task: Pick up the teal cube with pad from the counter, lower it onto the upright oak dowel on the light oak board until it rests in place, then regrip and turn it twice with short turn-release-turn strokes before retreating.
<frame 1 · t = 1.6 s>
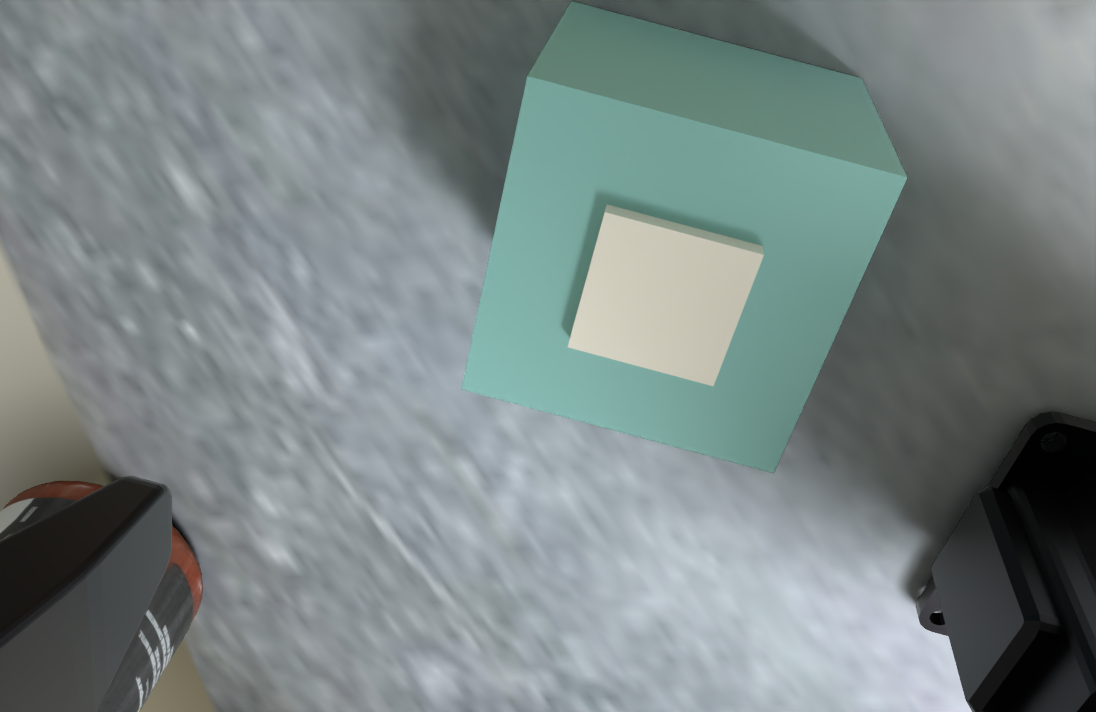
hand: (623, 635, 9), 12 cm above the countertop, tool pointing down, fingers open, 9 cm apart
teal cube with pad: (673, 176, 19), on the countertop
supplement bottle: (114, 548, 28), on the countertop
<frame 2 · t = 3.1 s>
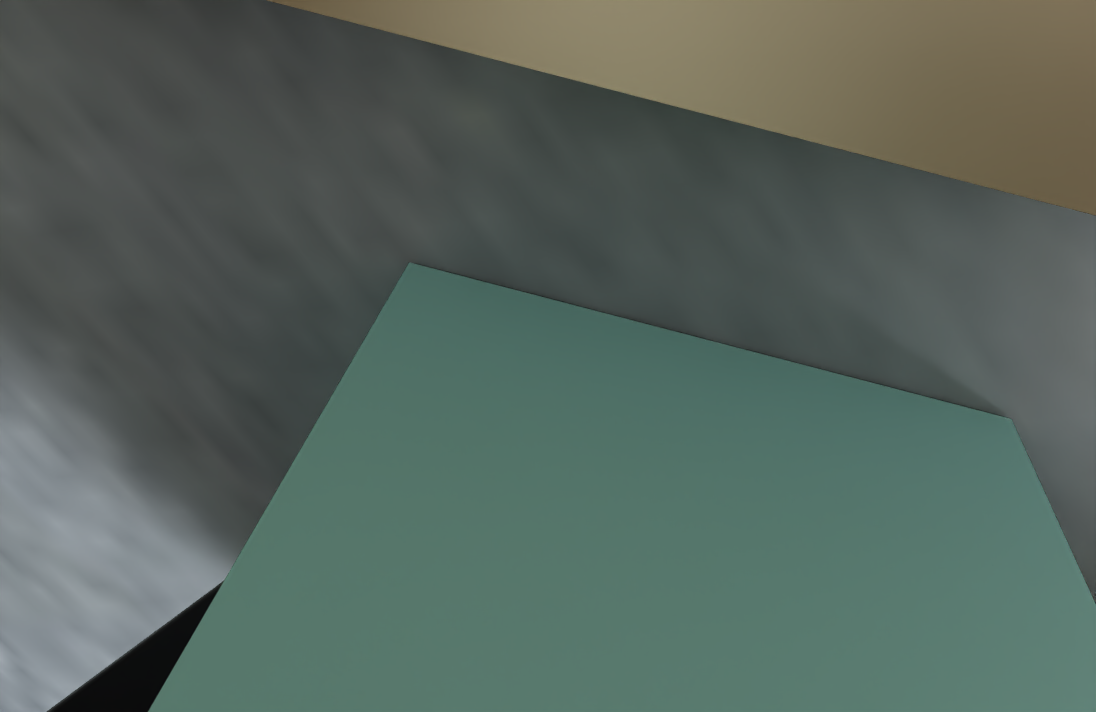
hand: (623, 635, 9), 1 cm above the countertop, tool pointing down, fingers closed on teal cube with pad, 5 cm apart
teal cube with pad: (630, 558, 10), on the countertop, touching gripper
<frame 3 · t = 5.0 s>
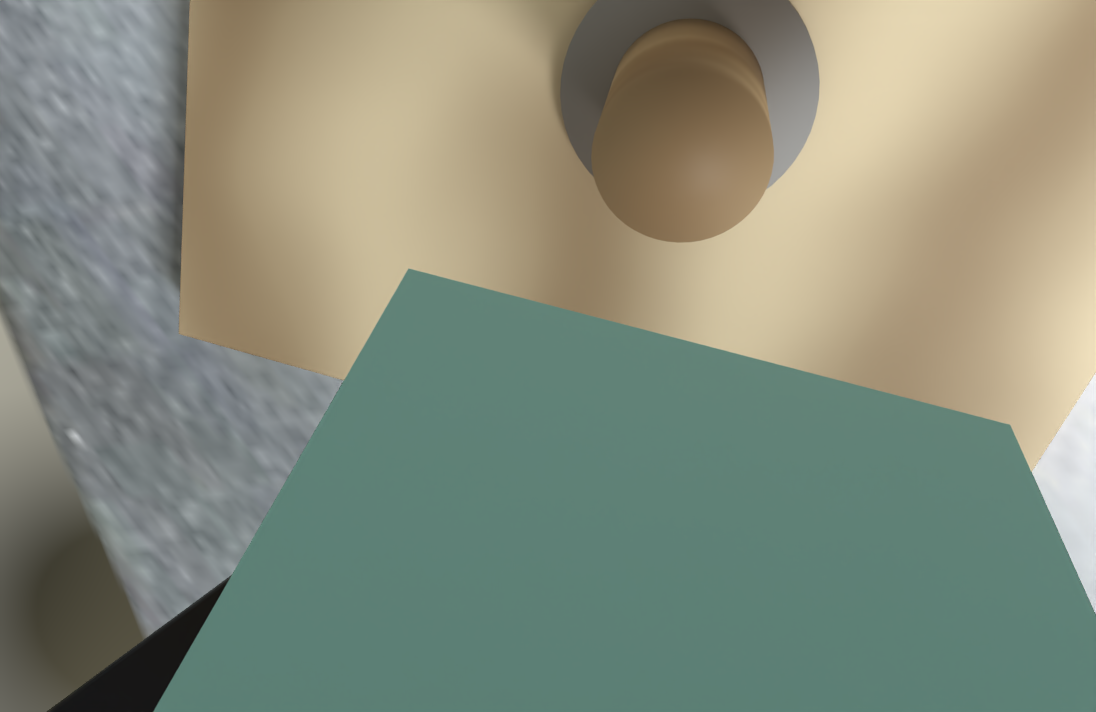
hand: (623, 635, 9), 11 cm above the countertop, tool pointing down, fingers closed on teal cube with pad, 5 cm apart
teal cube with pad: (629, 563, 10), point 10 cm above the countertop, touching gripper
post board: (688, 77, 18), on the countertop
when the fingers open (3 cm above the countertop, at t = 6.9 s): teal cube with pad stays where it is, resting on post board.
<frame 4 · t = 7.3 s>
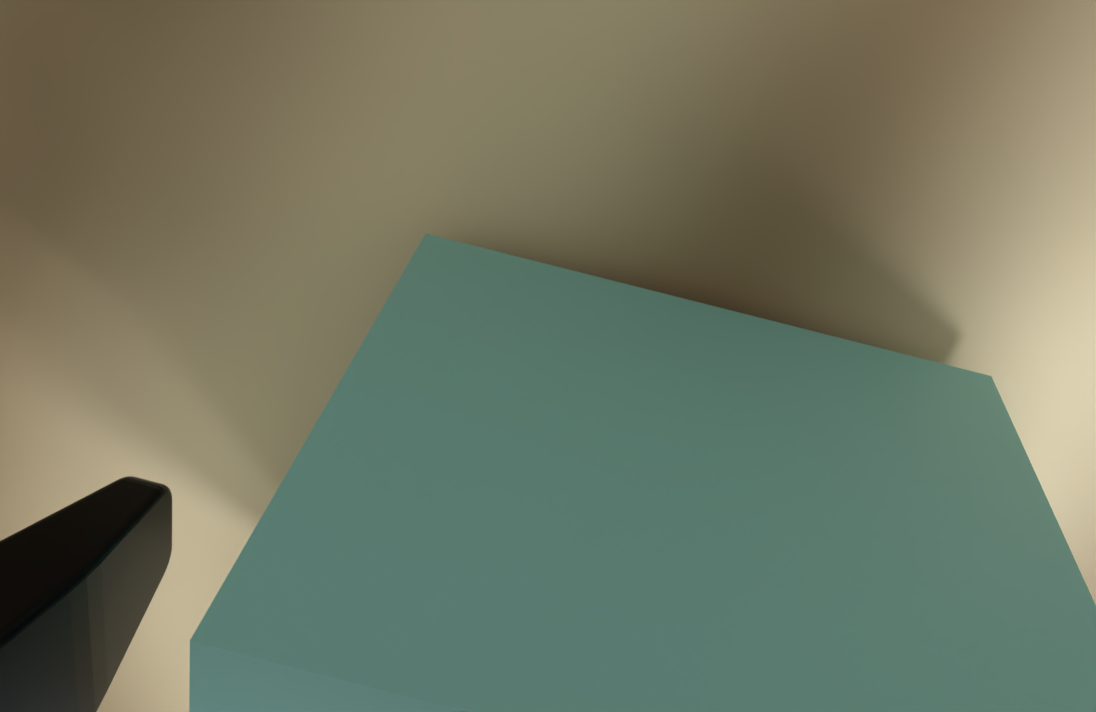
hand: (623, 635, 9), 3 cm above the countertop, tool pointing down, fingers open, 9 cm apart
teal cube with pad: (634, 516, 11), point 1 cm above the countertop, touching post board
post board: (640, 443, 12), on the countertop
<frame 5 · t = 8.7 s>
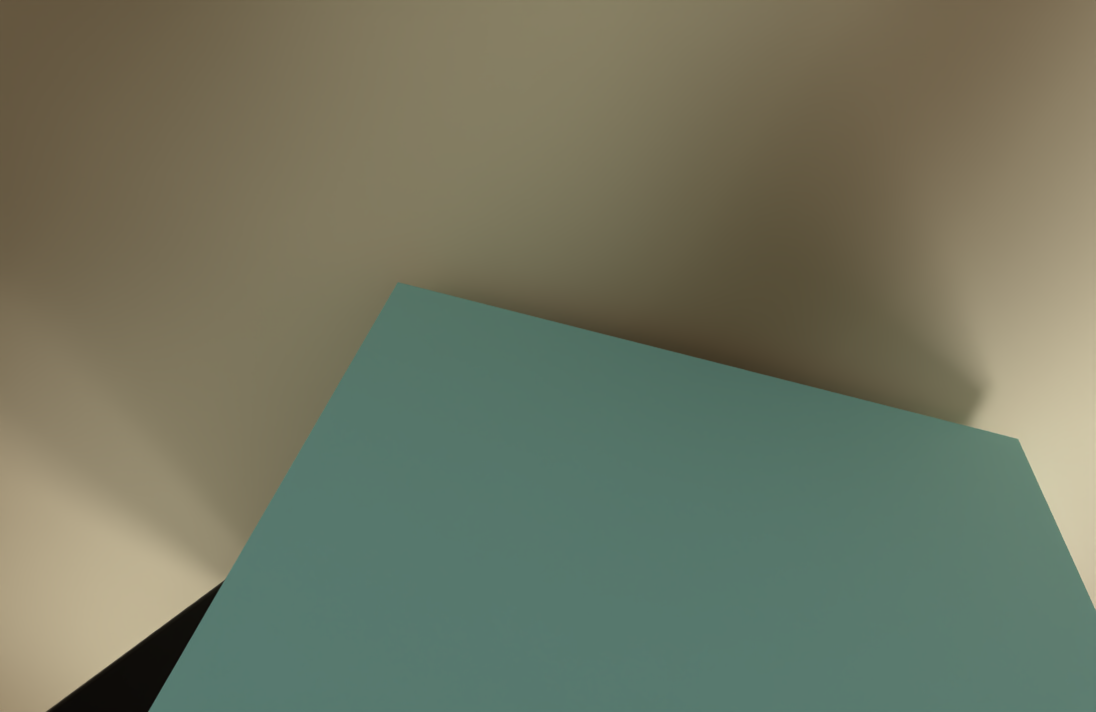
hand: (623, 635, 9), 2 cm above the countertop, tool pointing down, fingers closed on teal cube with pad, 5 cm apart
teal cube with pad: (628, 581, 10), point 1 cm above the countertop, touching gripper, post board
post board: (635, 496, 11), on the countertop
when the fingers open (2 cm above the countertop, at t = 12.6 s): teal cube with pad stays where it is, resting on post board.
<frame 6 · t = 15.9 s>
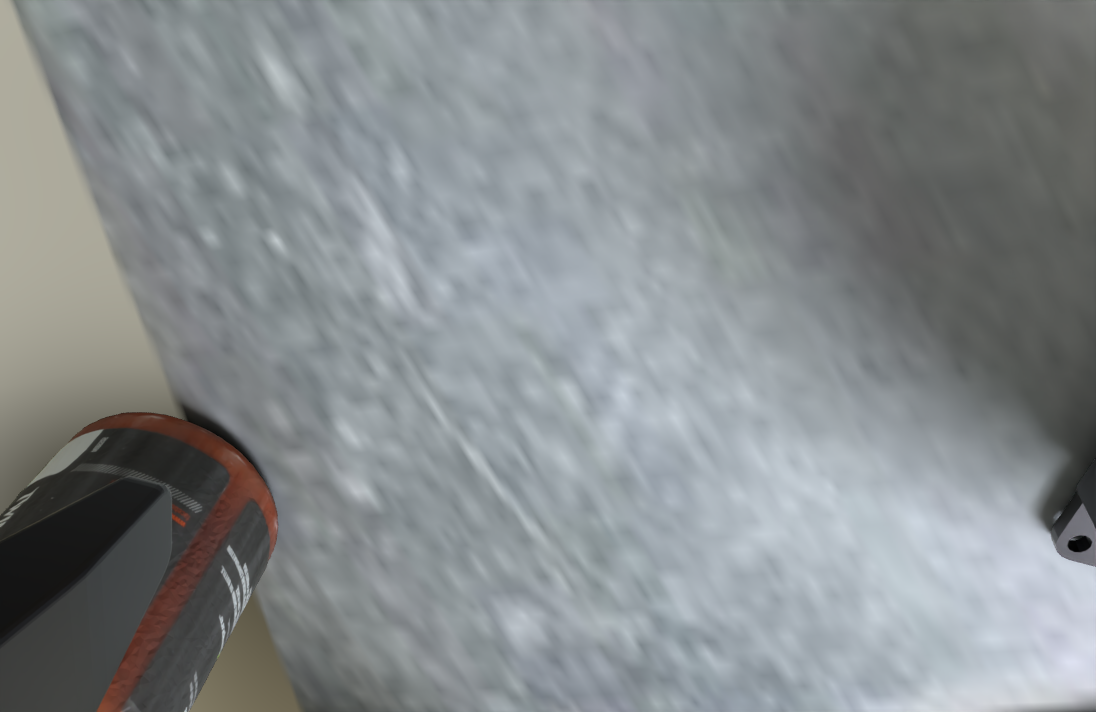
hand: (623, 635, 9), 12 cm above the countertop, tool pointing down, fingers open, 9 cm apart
supplement bottle: (181, 488, 26), on the countertop
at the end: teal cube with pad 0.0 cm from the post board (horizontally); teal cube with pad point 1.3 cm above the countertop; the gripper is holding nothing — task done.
